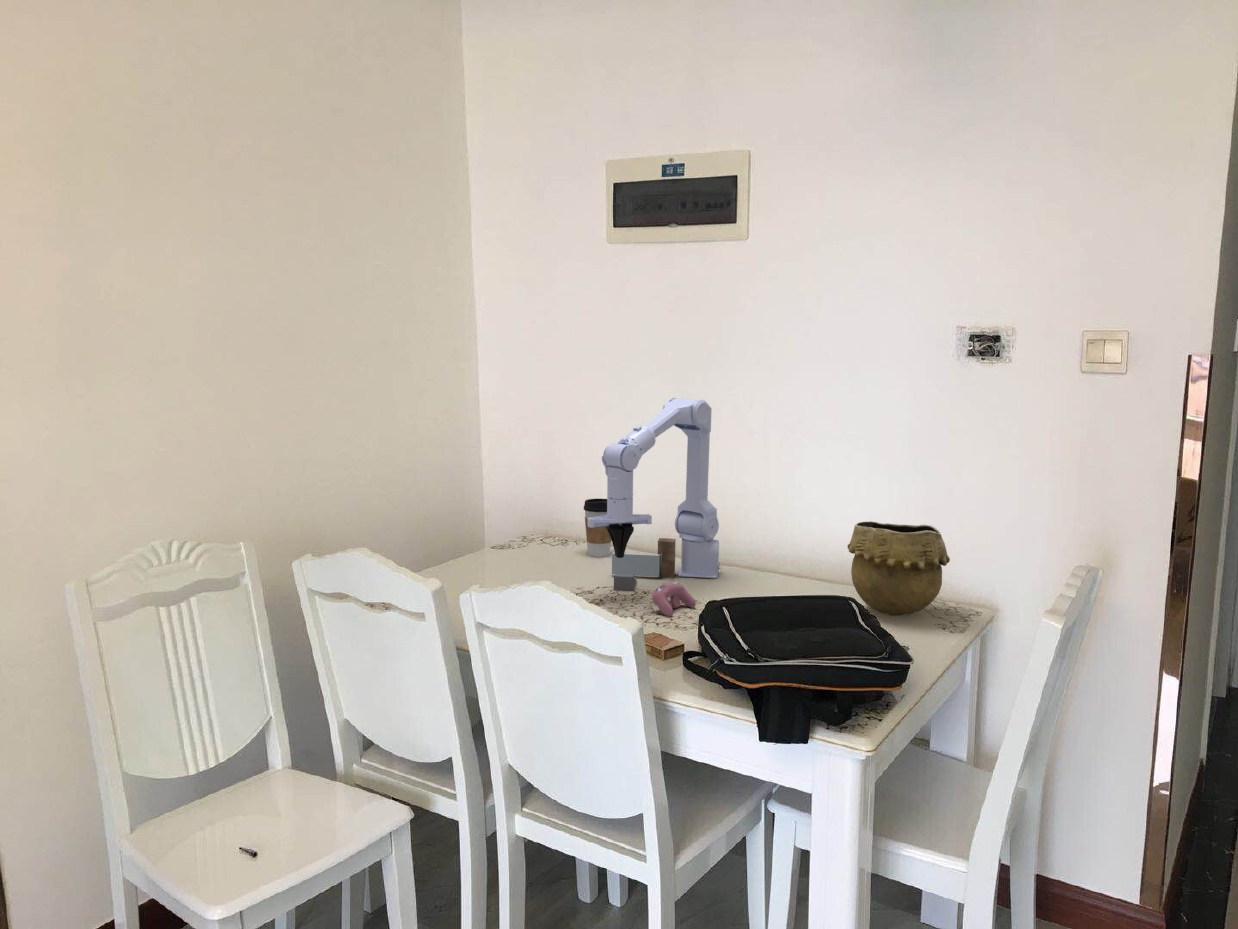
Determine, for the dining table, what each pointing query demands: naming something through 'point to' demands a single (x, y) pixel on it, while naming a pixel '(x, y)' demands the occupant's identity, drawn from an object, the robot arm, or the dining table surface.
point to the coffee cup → (597, 529)
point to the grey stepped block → (624, 582)
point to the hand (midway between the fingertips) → (619, 556)
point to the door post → (667, 557)
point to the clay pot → (897, 566)
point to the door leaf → (637, 564)
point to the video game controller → (671, 597)
